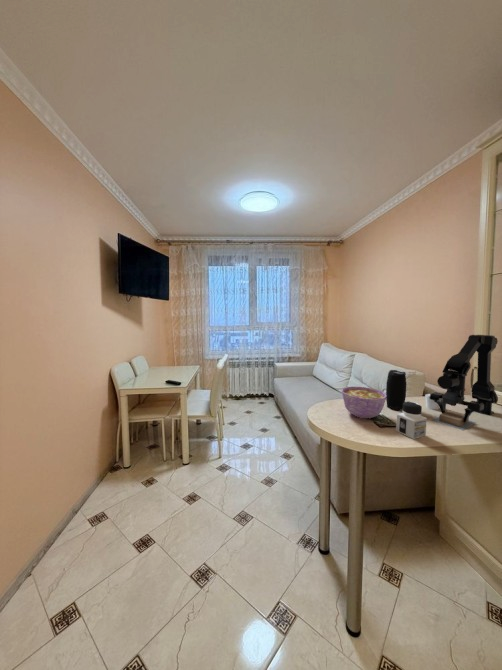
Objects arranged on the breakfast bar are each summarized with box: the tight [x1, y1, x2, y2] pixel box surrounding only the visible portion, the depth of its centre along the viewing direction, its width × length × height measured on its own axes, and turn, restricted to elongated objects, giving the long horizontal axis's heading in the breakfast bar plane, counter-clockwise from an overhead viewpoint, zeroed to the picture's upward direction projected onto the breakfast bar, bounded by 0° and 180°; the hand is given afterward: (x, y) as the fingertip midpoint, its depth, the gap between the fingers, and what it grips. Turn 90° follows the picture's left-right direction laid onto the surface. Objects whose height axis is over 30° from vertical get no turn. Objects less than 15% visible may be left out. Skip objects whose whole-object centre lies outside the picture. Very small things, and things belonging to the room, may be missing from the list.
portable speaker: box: [385, 369, 407, 411], centre depth 133 cm, size 9×9×20 cm
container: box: [395, 401, 428, 440], centre depth 104 cm, size 8×8×13 cm
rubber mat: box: [431, 415, 477, 431], centre depth 116 cm, size 15×12×1 cm
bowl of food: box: [341, 386, 387, 419], centre depth 123 cm, size 20×20×12 cm
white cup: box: [424, 393, 440, 411], centre depth 133 cm, size 7×7×7 cm
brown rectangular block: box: [438, 409, 470, 427], centre depth 116 cm, size 11×7×3 cm
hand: (453, 419), depth 116 cm, fingers open, 8 cm apart
